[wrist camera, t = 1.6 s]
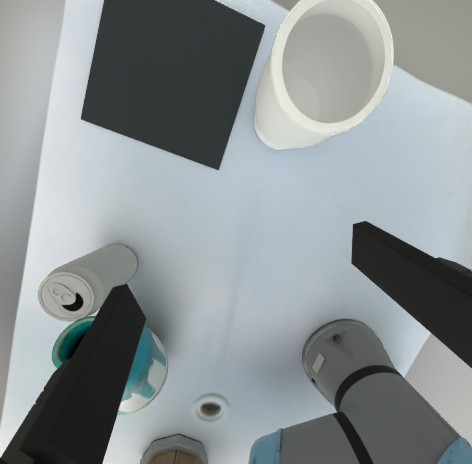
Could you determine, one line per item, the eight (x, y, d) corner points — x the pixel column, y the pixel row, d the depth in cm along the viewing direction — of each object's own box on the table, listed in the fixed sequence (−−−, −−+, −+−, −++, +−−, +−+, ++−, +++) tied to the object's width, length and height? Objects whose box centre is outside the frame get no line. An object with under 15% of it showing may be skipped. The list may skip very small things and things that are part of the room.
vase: (96, 412, 33) (-12, 398, 19) (128, 339, 40) (66, 289, 26) (162, 422, 32) (99, 415, 18) (182, 345, 39) (149, 297, 25)
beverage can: (119, 288, 35) (67, 336, 23) (89, 260, 34) (19, 295, 22) (147, 263, 35) (110, 300, 23) (118, 234, 33) (63, 257, 22)
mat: (264, 27, 29) (265, 25, 29) (218, 169, 33) (218, 169, 32) (115, -47, 26) (113, -50, 26) (81, 119, 30) (80, 118, 29)
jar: (264, 66, 30) (307, -46, 15) (326, 99, 32) (419, 26, 17) (235, 140, 32) (250, 102, 17) (296, 167, 33) (356, 154, 19)
